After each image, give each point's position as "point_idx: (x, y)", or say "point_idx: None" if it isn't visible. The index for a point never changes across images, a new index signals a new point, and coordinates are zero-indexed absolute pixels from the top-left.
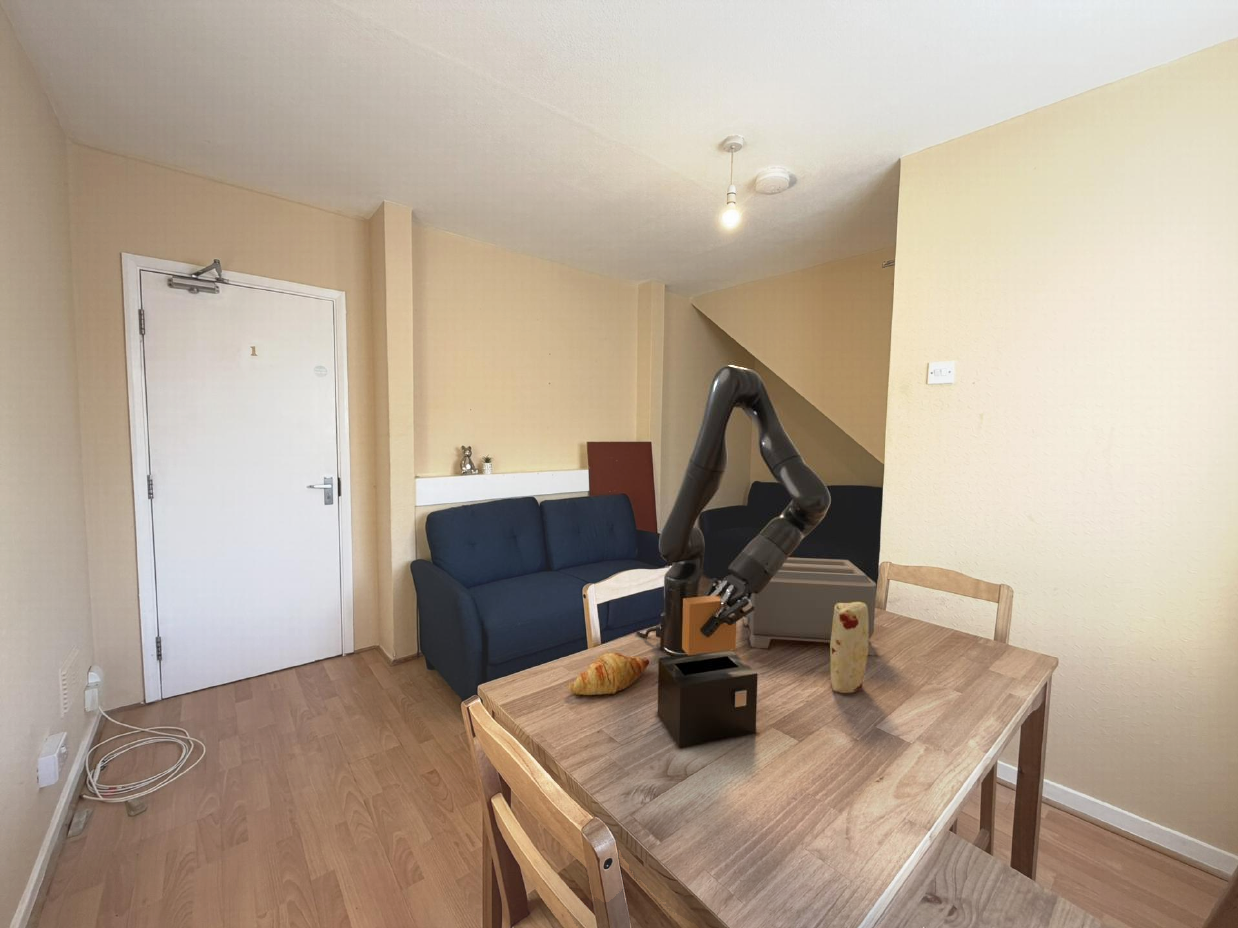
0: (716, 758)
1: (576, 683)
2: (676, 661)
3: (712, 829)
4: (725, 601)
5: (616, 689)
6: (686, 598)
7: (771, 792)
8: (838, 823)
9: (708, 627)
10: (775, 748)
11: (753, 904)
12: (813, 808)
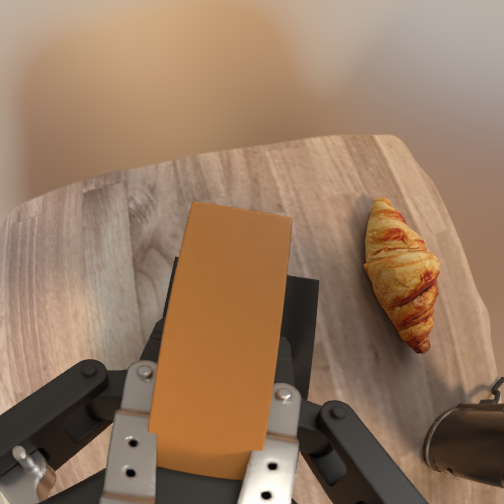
0: (143, 332)
1: (381, 203)
2: (283, 312)
3: (62, 246)
4: (111, 435)
5: (365, 267)
6: (282, 234)
7: (62, 351)
8: (7, 376)
9: (160, 330)
10: None
11: (5, 231)
12: (27, 373)
